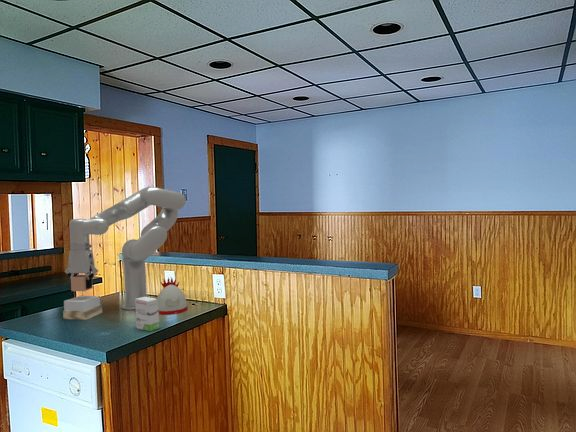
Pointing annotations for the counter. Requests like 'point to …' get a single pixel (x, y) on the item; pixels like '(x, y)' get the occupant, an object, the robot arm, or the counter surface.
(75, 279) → the terracotta cube
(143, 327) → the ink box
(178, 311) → the white dome with spikes
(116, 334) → the counter surface
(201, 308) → the counter surface
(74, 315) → the maple base slab
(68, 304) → the grey top slab
